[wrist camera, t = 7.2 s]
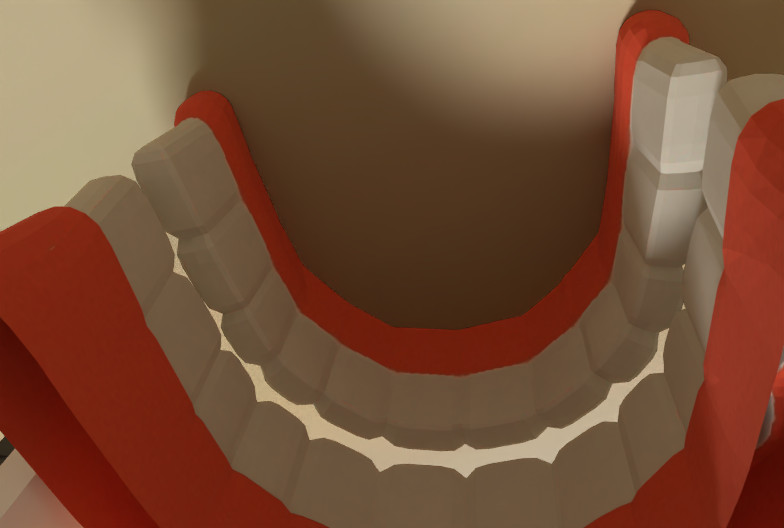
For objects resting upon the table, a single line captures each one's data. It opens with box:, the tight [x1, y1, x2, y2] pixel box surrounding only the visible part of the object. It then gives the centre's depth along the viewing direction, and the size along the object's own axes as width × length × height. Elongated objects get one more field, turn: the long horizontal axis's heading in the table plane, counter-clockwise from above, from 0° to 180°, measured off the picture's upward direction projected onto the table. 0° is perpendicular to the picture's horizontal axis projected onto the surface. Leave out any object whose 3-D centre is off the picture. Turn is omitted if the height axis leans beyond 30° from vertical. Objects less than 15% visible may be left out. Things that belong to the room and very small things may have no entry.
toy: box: [0, 10, 784, 528], centre depth 13 cm, size 12×10×8 cm
